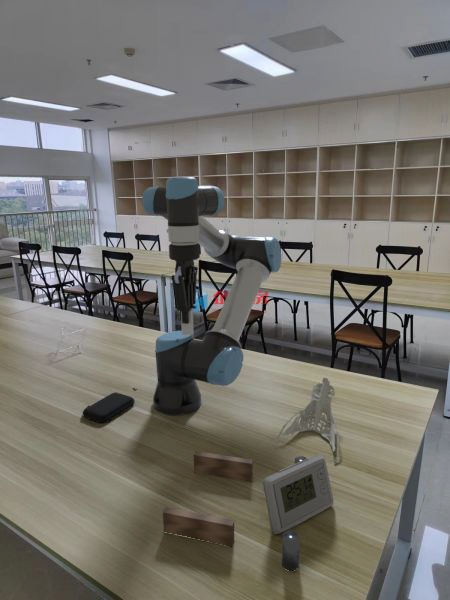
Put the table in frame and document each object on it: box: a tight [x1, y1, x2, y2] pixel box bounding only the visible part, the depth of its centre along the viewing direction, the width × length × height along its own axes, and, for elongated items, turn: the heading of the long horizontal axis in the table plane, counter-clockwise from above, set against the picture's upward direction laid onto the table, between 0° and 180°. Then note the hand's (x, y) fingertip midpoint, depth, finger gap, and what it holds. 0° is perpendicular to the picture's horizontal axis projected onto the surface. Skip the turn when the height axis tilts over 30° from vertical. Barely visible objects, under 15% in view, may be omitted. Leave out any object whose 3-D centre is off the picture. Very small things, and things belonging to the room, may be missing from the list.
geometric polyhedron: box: [56, 327, 87, 354], centre depth 175 cm, size 12×11×9 cm
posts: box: [281, 455, 308, 572], centre depth 84 cm, size 3×25×6 cm, turn 165°
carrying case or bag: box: [82, 392, 135, 424], centre depth 128 cm, size 11×3×15 cm
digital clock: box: [262, 454, 334, 535], centre depth 85 cm, size 16×9×11 cm, turn 109°
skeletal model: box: [274, 377, 340, 465], centre depth 114 cm, size 16×9×25 cm
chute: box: [162, 450, 254, 548], centre depth 89 cm, size 14×20×5 cm
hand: (187, 333), depth 107 cm, fingers closed
